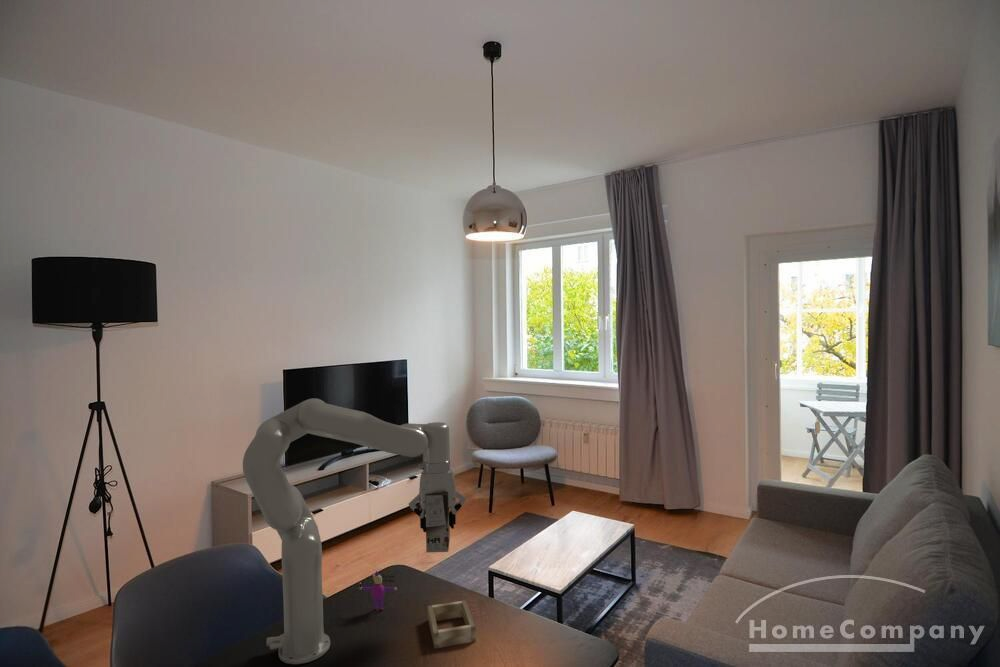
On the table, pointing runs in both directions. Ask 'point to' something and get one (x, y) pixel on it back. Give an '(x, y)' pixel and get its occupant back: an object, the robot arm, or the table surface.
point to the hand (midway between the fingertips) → (438, 528)
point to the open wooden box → (456, 633)
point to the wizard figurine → (378, 589)
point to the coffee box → (437, 522)
